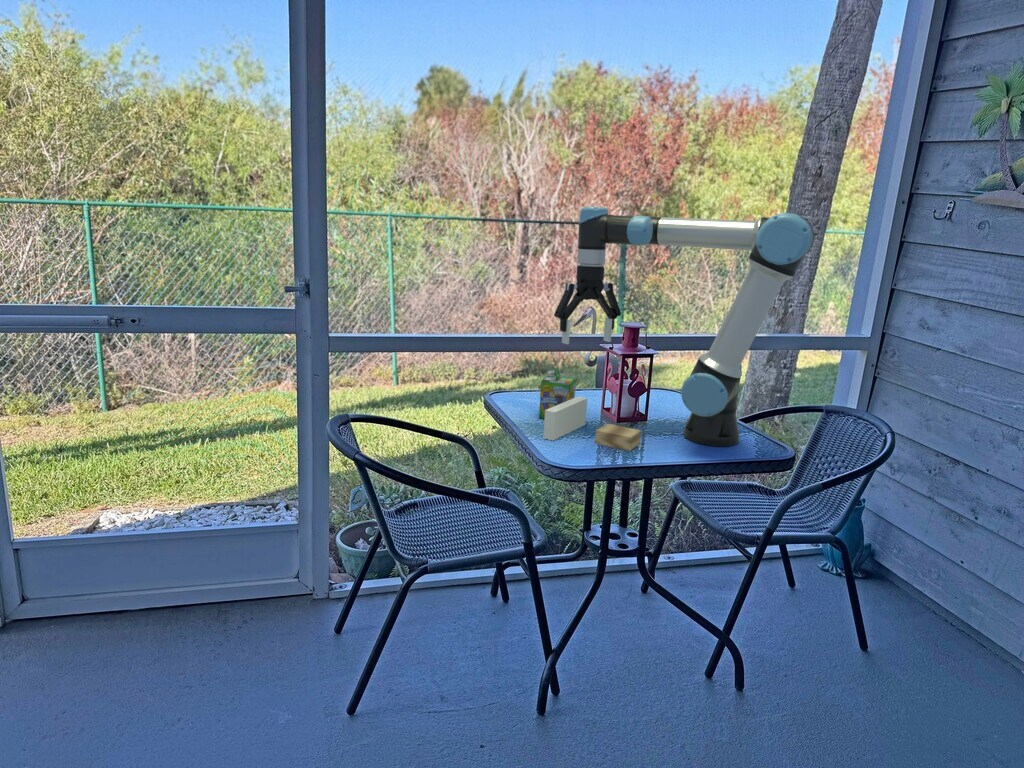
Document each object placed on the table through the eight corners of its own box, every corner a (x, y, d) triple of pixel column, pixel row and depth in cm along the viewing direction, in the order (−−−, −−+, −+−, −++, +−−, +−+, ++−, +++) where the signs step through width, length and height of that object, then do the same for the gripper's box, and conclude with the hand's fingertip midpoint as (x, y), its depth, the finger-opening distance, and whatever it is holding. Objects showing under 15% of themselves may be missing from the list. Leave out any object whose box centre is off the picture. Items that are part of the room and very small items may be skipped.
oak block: (640, 444, 200) (641, 430, 199) (630, 452, 193) (631, 437, 192) (605, 437, 204) (607, 423, 203) (594, 444, 197) (596, 430, 197)
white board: (585, 424, 214) (587, 398, 212) (552, 441, 197) (555, 412, 195) (576, 422, 216) (578, 396, 214) (543, 438, 199) (545, 410, 197)
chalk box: (568, 422, 215) (572, 373, 212) (538, 418, 218) (541, 370, 214) (574, 414, 224) (578, 367, 221) (545, 411, 226) (548, 364, 223)
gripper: (621, 264, 209) (616, 338, 213) (543, 264, 198) (540, 342, 202) (636, 266, 202) (631, 342, 207) (557, 266, 191) (553, 346, 196)
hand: (586, 342), depth 205 cm, fingers open, 13 cm apart
